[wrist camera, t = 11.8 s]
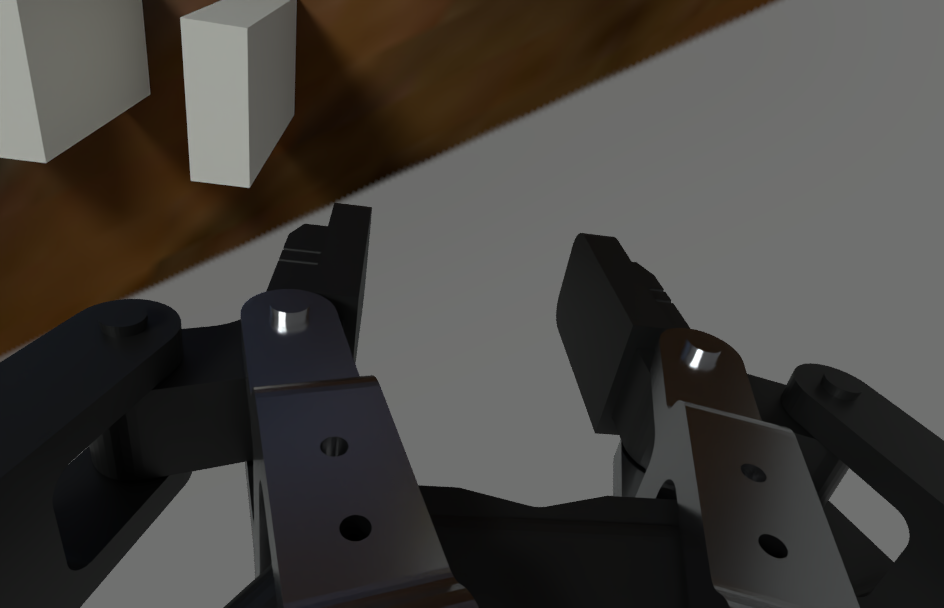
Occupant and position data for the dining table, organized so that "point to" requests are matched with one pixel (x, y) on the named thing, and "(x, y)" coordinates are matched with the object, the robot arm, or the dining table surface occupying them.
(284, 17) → the domino
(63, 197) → the dining table surface
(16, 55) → the domino
